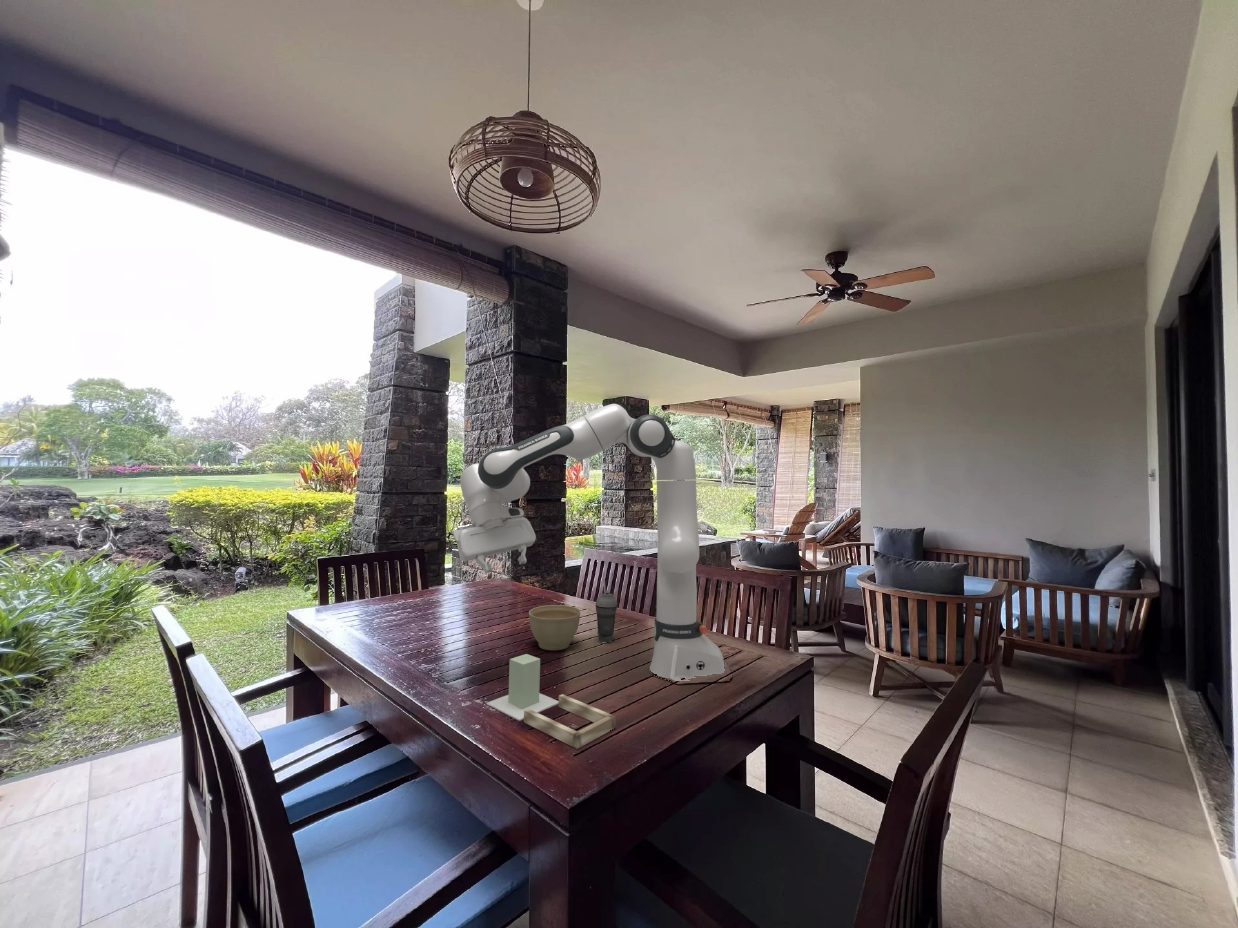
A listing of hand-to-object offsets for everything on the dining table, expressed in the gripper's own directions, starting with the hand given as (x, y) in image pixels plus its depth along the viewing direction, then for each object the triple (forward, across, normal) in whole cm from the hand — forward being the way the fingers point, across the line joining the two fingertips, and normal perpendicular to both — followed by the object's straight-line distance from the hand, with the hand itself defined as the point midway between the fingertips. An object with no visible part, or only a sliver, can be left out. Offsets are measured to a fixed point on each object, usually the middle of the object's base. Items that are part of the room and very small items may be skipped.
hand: (506, 567), depth 130 cm
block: (+31, -5, +6) cm, 32 cm away
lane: (+40, -1, -7) cm, 41 cm away
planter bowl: (+17, +21, +35) cm, 44 cm away
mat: (+31, -5, +6) cm, 32 cm away
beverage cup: (+22, +37, +32) cm, 54 cm away
